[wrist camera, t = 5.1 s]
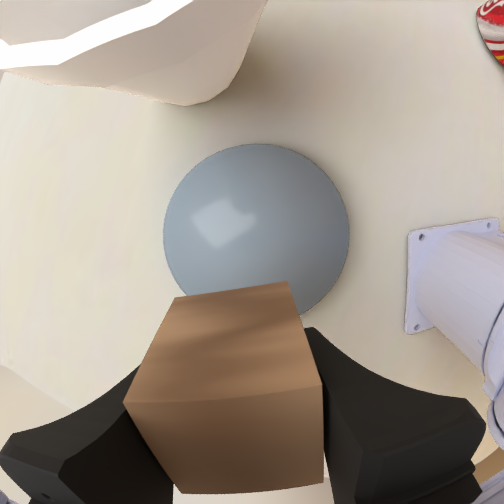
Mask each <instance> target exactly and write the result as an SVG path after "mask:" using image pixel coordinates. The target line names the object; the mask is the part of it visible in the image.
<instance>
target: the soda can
mask: <svg viewBox="0 0 504 504" xmlns="http://www.w3.org/2000/svg"><path fill="white" fill-rule="evenodd" d="M477 23H478V27H479V30H480V33H481V36H482V38H483V40H484V42H485V44H486V46H487V47H488V49H489V50H490V51H491V53H492V54H493V55H494V56H495V57H496V58H497V59H498V61H499V62H500V63H501V64H502V65H503V66H504V0H488V1H487V2H486V3H484V4H483V5H482V6H481V7H479V8H478V10H477Z"/></svg>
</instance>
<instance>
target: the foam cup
mask: <svg viewBox="0 0 504 504" xmlns="http://www.w3.org/2000/svg"><path fill="white" fill-rule="evenodd" d="M266 3H267V0H0V70H2V71H6V72H9V73H12V74H16V75H19V76H22V77H25V78H29V79H32V80H35V81H38V82H41V83H44V84H47V85H68V86H88V87H101V88H105V89H110V90H115V91H119V92H124V93H128V94H132V95H136V96H140V97H144V98H148V99H152V100H156V101H159V102H164V103H170V104H176V105H181V106H189V105H193V104H197V103H202V102H206V101H209V100H211V99H212V98H214V97H215V96H216V95H218V94H219V93H221V92H222V91H224V90H225V89H227V88H228V87H229V85H230V84H231V82H232V80H233V79H234V77H235V75H236V74H237V72H238V71H239V69H240V67H241V64H242V62H243V59H244V57H245V54H246V51H247V49H248V46H249V44H250V41H251V39H252V36H253V34H254V31H255V29H256V26H257V24H258V21H259V19H260V17H261V14H262V12H263V10H264V7H265V5H266Z"/></svg>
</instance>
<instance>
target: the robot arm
mask: <svg viewBox="0 0 504 504" xmlns="http://www.w3.org/2000/svg"><path fill="white" fill-rule="evenodd" d="M487 224H488V226H487ZM499 225H500V223H499V219H498V218H487V219H481V220H475V221H469V222H462V223H456V224H450V225H443V226H437V227H430V228H424V229H418V230H413V231H411V232H410V233H409V235H408V274H407V298H406V313H405V325H404V331H405V332H406V333H407V334H413V333H417V332H420V331H424V330H427V329H430V328H433V327H436V328H437V329H438V330H439V331H440V332H441V333H442V334H443V335H444V336H445V337H446V338H447V339H448V340H449V341H451V342H452V343H453V344H454V345H455V346H456V347H457V348H458V349H459V350H460V351H461V352H462V353H463V354H464V355H465V356H466V357H467V358H468V359H469V360H470V362H471V363H472V364H473V365H474V366H475V367H476V368H477V369H478V370H479V371H480V372H481V373H482V374H483V375H484V376H485V382H484V385H483V387H482V390H483V391H484V392H485V393H486V395H487V396H488V397H489V398H490V399H491V400H492V401H491V403H490V405H489V407H488V411H487V423H488V427H489V430H490V433H491V435H492V437H493V439H494V440H495V442H496V443H497V444H498V445H499V446H500V448H501V449H503V451H504V232H501V231H499ZM420 234H422V238H421V239H420V240H419V236H420ZM416 325H417V327H416V328H415V326H416ZM304 331H305V334H306V337H307V340H308V343H309V346H310V349H311V352H312V355H313V358H314V362H315V365H316V368H317V371H318V374H319V377H320V380H321V383H322V398H323V437H324V453H325V458H326V462H327V467H328V472H329V477H330V482H331V487H332V492H333V498H334V503H335V504H504V469H503V470H502V471H500V472H499V473H497V474H496V475H494V476H493V477H491V478H490V479H488V480H486V481H485V482H483V483H481V484H480V485H479V484H478V483H477V481H476V479H475V477H474V476H473V474H472V473H473V472H474V471H475V466H474V464H473V463H472V461H471V458H472V456H473V455H474V453H475V451H476V450H477V448H478V446H479V444H480V443H481V441H482V439H483V436H484V434H485V431H486V423H485V421H484V420H483V419H482V417H481V416H480V414H479V413H478V412H477V410H476V409H475V408H474V407H473V406H472V404H471V403H470V402H469V401H468V400H467V399H465V398H457V397H450V396H443V395H437V394H432V393H428V392H424V391H420V390H416V389H413V388H410V387H407V386H404V385H401V384H399V383H396V382H393V381H391V380H388V379H386V378H384V377H382V376H380V375H378V374H376V373H374V372H372V371H370V370H368V369H366V368H365V367H363V366H361V365H360V364H358V363H357V362H355V361H354V360H352V359H351V358H350V357H348V356H347V355H346V354H344V353H343V352H342V351H340V350H339V349H338V348H337V347H335V346H334V345H333V344H332V343H331V342H330V341H328V340H327V339H326V338H325V337H324V336H323V335H322V334H321V333H320V332H319V331H318V330H317V329H315V328H314V327H310V328H304ZM140 365H141V364H140ZM140 365H139V366H138V367H137V368H136V369H135V370H133V371H132V372H131V373H130V374H129V375H128V376H127V377H125V378H124V379H123V380H122V381H120V382H119V383H118V384H117V385H116V386H114V387H113V388H112V389H111V390H109V391H108V392H107V393H105V394H104V395H102V396H101V397H99V398H98V399H96V400H95V401H93V402H92V403H90V404H88V405H87V406H85V407H83V408H81V409H79V410H77V411H76V412H74V413H72V414H70V415H68V416H66V417H64V418H61V419H59V420H56V421H54V422H52V423H49V424H46V425H43V426H40V427H37V428H34V429H29V430H26V431H22V432H17V433H13V434H12V435H11V436H10V438H9V439H8V441H7V442H6V444H5V445H4V447H3V448H2V450H1V451H0V466H1V467H2V469H3V470H4V471H5V472H6V473H7V475H8V476H9V477H10V478H11V479H12V480H13V481H14V482H15V483H16V484H17V485H18V486H19V487H20V488H21V489H22V490H23V491H24V492H26V493H27V494H28V495H29V496H30V497H31V500H30V502H29V504H173V484H174V483H173V482H172V480H171V479H170V477H169V476H168V475H167V473H166V472H165V470H164V469H163V467H162V466H161V465H160V463H159V462H158V460H157V459H156V457H155V456H154V454H153V453H152V451H151V449H150V448H149V446H148V445H147V443H146V442H145V440H144V438H143V437H142V435H141V433H140V432H139V430H138V428H137V427H136V425H135V423H134V422H133V420H132V418H131V416H130V415H129V413H128V411H127V409H126V407H125V406H124V404H123V400H124V398H125V396H126V394H127V392H128V390H129V388H130V386H131V384H132V382H133V379H134V377H135V375H136V373H137V371H138V369H139V367H140ZM0 504H18V503H17V502H14V501H12V500H11V499H9V498H8V497H7V496H6V495H5V494H4V493H3V492H2V491H1V490H0Z"/></svg>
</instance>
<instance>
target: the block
mask: <svg viewBox="0 0 504 504" xmlns="http://www.w3.org/2000/svg"><path fill="white" fill-rule="evenodd" d="M123 404H124V406H125V407H126V409H127V411H128V413H129V415H130V416H131V418H132V420H133V422H134V423H135V425H136V427H137V428H138V430H139V432H140V433H141V435H142V437H143V438H144V440H145V442H146V443H147V445H148V446H149V448H150V449H151V451H152V453H153V454H154V456H155V457H156V459H157V460H158V462H159V463H160V465H161V466H162V467H163V469H164V470H165V472H166V473H167V475H168V476H169V477H170V479H171V480H172V482H173V483H174V484H175V486H176V487H177V488H178V490H179V491H180V492H181V493H183V494H235V493H252V492H263V491H273V490H281V489H288V488H294V487H302V486H308V485H313V484H318V483H323V480H324V479H323V478H324V437H323V398H322V383H321V380H320V377H319V374H318V371H317V368H316V365H315V362H314V358H313V355H312V352H311V349H310V346H309V343H308V340H307V337H306V334H305V331H304V328H303V325H302V322H301V319H300V317H299V314H298V311H297V308H296V305H295V302H294V299H293V296H292V293H291V290H290V287H289V284H288V282H287V281H283V282H277V283H270V284H264V285H258V286H252V287H245V288H239V289H232V290H225V291H219V292H212V293H205V294H198V295H191V296H184V297H176V298H174V300H173V302H172V304H171V306H170V308H169V310H168V312H167V314H166V316H165V318H164V319H163V321H162V323H161V325H160V327H159V329H158V331H157V333H156V335H155V337H154V339H153V341H152V343H151V345H150V347H149V349H148V351H147V353H146V355H145V357H144V359H143V361H142V363H141V365H140V367H139V369H138V371H137V373H136V375H135V377H134V379H133V382H132V384H131V386H130V388H129V390H128V392H127V394H126V396H125V398H124V400H123Z"/></svg>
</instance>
